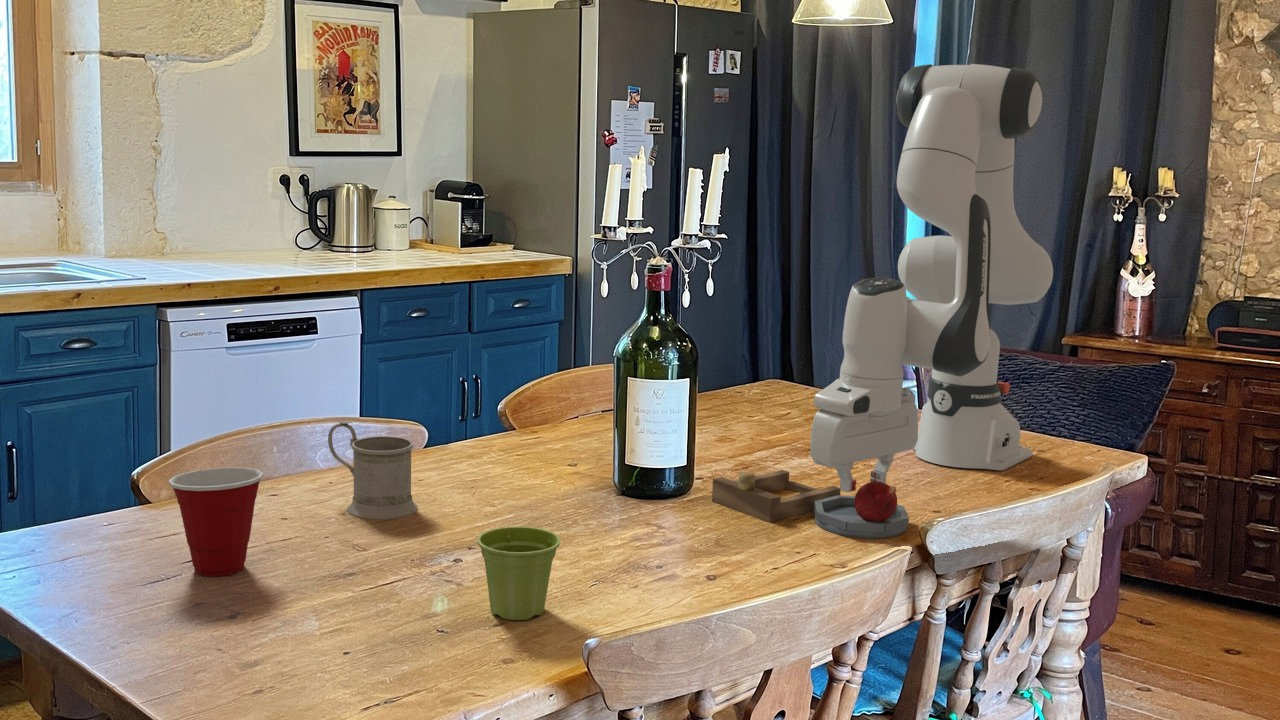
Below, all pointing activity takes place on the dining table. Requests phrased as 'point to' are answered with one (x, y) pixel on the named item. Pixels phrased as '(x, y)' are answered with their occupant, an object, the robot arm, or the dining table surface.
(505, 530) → the plant pot
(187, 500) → the plastic cup
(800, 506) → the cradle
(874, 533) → the saucer
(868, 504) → the onion
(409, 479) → the mug
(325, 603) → the dining table surface
